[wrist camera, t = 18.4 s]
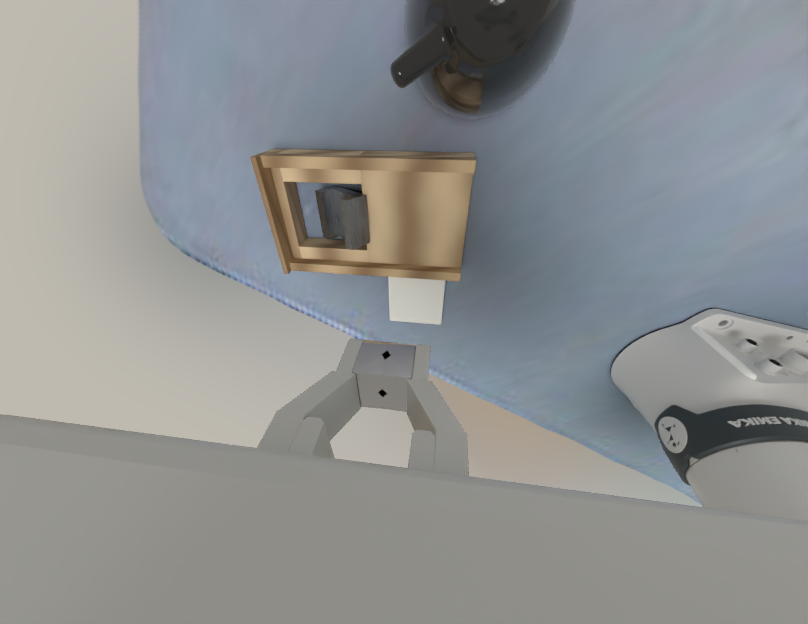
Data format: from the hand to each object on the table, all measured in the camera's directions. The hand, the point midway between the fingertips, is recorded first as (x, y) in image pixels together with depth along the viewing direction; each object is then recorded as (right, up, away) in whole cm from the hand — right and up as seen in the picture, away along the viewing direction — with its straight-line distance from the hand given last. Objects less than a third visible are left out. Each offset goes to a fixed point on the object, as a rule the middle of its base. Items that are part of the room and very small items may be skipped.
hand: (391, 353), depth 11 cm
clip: (-5, +12, +20) cm, 24 cm away
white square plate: (+2, +4, +28) cm, 28 cm away
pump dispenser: (+6, +23, +12) cm, 27 cm away
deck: (-3, +13, +21) cm, 25 cm away
